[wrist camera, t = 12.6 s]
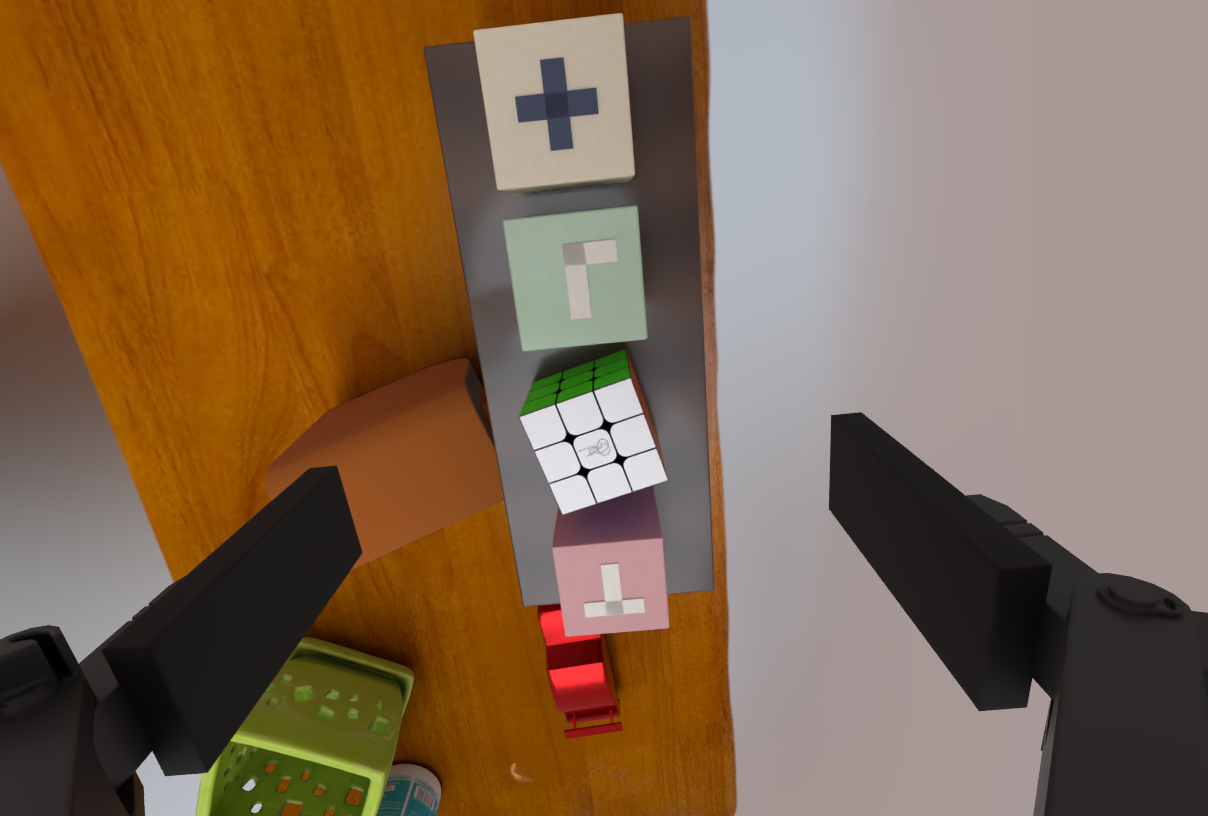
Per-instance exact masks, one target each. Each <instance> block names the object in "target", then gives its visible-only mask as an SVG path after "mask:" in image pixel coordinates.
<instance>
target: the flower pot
mask: <svg viewBox="0 0 1208 816" xmlns="http://www.w3.org/2000/svg"><path fill="white" fill-rule="evenodd" d="M413 682H414V673H413V671H412V670H411V669H410V668H408V667H406V666H404V665H401V664H398V663H395V662H392V661H389V660H386V659H382V658H379V657H376V656H372V655H369V654H366V653H363V652H360V651H357V650H353V649H350V648H347V647H344V646H340V645H337V644H333V643H330V642H327V641H323V640H320V639H316V638H311V637H303V638H302V640H301V641H300V643H299V644H298V646H297V647H296V648H295V650H294V651H293V653H292V654H291V655H290V657H289V658H288V660H287V661H286V663H285V664H284V665H283V667H282V668H281V670H280V671H279V672H278V674H277V675H276V677H275V678H274V680H273V681H272V682H271V684H270V685H269V687H268V688H267V689H266V691H265V692H264V694H263V695H262V697H261V698H260V699H259V701H258V702H257V704H256V705H255V706H254V708H253V709H252V711H251V712H250V714H249V715H248V716H247V718H246V719H245V721H244V722H243V724H242V725H241V726H240V728H239V729H238V731H237V732H236V733H235V735H234V736H233V738H232V739H231V741H230V742H229V743H228V745H227V746H226V748H225V749H224V750H223V752H222V753H221V755H220V756H219V758H218V759H217V760H216V762H215V763H214V765H213V766H212V767H211V769H210V770H209V772H208V773H202V777H201V782H200V787H199V795H198V801H197V809H196V816H281V813H282V811H283V808H284V806H285V805H286V804H287V803H295V804H301V805H302V808H301V811H300V813H299V816H325V812H326V811H327V810H329V809H331V808H334V815H333V816H376V815H377V812H378V809H379V806H380V803H381V801H382V797H383V794H384V791H385V787H386V784H387V780H388V777H389V773H390V770H391V766H392V762H393V758H394V754H395V750H396V746H397V741H398V736H399V731H400V726H401V720H402V717H403V714H404V711H405V709H406V706H407V703H408V700H409V697H410V694H411V690H412V686H413ZM251 749H252V750H251ZM239 753H240V754H239ZM238 755H239V756H238ZM271 763H276V766H277V767H276V769H275V770H274V771H273V772H271V773H266V766H267V765H269V764H271ZM305 772H310V776H309V778H308V779H307V780H305V781H302V775H303V773H305ZM251 779H254V780H256V781H257V782H258V784H257V785H256V786H255V787H254V788H253V789H252V790H250V791H246V790H244V789H243V788H242V787H243V786H244V785H245V784H246V783H247V782H248V781H249V780H251ZM282 779H288V780H290V783H289V786H288V788H287V790H286V791H285V792H278V791H277V788H278V786H279V783H280V781H281V780H282ZM319 787H321V788H323V789H325V792H324V793H323V794H322V795H321V796H316V795H314V794H313V793H314V791H315V790H316V789H317V788H319ZM352 788H354V789H357V790H360V791H362V792H363V794H362V797H361V800H360V802H359V804H358V805H356V806H355V805H351V804H348V803H346V802H345V801H346V798H347V796H348V793H349V791H350V789H352ZM257 803H258V804H262V807H261V809H260V811H259V812H257V813H252V812H251V809H252V808H253V806H254V805H255V804H257Z"/></svg>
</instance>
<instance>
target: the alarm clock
mask: <svg viewBox="0 0 1208 816" xmlns="http://www.w3.org/2000/svg"><path fill="white" fill-rule="evenodd" d="M335 465H337V467H338V471H339V474H340V477H341V481H342V484H343V488H344V491H345V494H346V498H347V501H348V504H349V508H350V511H351V515H352V518H353V521H354V525H355V528H356V532H357V535H358V538H359V542H360V545H361V549H362V552H363V553H362V555H361V556H360V558H359V559H358V560H357V562H356V563H355V565H354V566H353V567H352V569H354V568H357V567H359V566H361V565H363V564H365V563H367V562H370V561H372V560H374V559H376V558H378V557H380V556H383V555H385V554H387V553H389V552H391V551H393V550H396V549H398V548H400V547H402V546H404V545H406V544H409V543H411V542H413V541H415V540H417V539H419V538H422V537H424V536H426V535H428V534H430V533H433V532H435V531H437V530H439V529H441V528H443V527H446V526H448V525H450V524H452V523H454V522H456V521H459V520H461V519H463V518H465V517H467V516H469V515H472V514H474V513H476V512H478V511H480V510H482V509H485V508H487V507H489V506H491V505H493V504H495V503H498V502H500V501H502V500H504V496H503V491H502V485H501V480H500V474H499V468H498V463H497V457H496V452H495V446H494V440H493V435H492V429H491V424H490V418H489V412H488V407H487V401H486V396H485V390H484V385H483V386H482V385H481V383H480V381H479V379H478V377H477V375H476V372H475V370H474V368H473V366H472V364H471V363H470V361H469V360H468V359H455V360H450V361H446V362H443V363H439V364H436V365H433V366H431V367H428V368H425V369H422V370H420V371H417V372H415V373H412V374H410V375H408V376H405V377H403V378H400V379H398V380H396V381H394V382H391V383H389V384H387V385H384V386H382V387H380V388H378V389H375V390H373V391H371V392H368V393H366V394H364V395H362V396H359V397H357V398H355V399H353V400H350V401H348V402H346V403H343V404H341V405H339V406H337V407H334V408H332V409H330V410H328V411H327V412H326V413H325V414H324V415H323V416H322V417H321V418H320V419H318V420H317V421H316V422H315V423H314V424H313V425H312V426H311V427H310V428H309V429H308V430H307V431H306V432H305V433H304V434H303V435H302V436H300V437H299V438H298V439H297V440H296V441H295V442H294V443H293V444H292V445H291V446H290V447H289V448H288V449H287V450H286V451H285V452H283V453H282V454H281V455H280V456H279V457H278V458H277V459H276V460H275V461H274V462H273V463H272V464H271V465H270V466H269V468H268V469H267V472H266V485H267V490H268V493H269V495H270V498H271V500H273V499H274V498H276V497H277V496H278V495H279V494H280V493H281V492H282V491H284V490H285V489H286V488H287V487H288V486H289V485H290V484H292V483H293V482H294V481H295V480H296V479H297V478H298V477H300V476H301V475H302V474H303V473H304V472H305V471H306V470H308V469H309V468H315V467H325V466H335ZM352 569H351V570H352Z"/></svg>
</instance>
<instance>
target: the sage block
mask: <svg viewBox="0 0 1208 816" xmlns="http://www.w3.org/2000/svg"><path fill="white" fill-rule="evenodd" d="M503 229H504V236H505V242H506V249H507V255H508V262H509V268H510V275H511V282H512V288H513V295H514V301H515V308H516V315H517V321H518V328H519V334H520V341H521V347H522V351H534V350H544V349H554V348H564V347H575V346H585V345H595V344H605V343H615V342H625V341H635V340H645V339H647V337H648V335H647V322H646V309H645V296H644V282H643V269H642V256H641V243H640V230H639V217H638V207H637V206H635V205H634V206H625V207H615V208H606V209H597V210H587V211H578V212H568V213H559V214H550V215H540V216H531V217H522V218H512V219H504V220H503Z"/></svg>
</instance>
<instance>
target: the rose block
mask: <svg viewBox="0 0 1208 816" xmlns="http://www.w3.org/2000/svg"><path fill="white" fill-rule="evenodd" d="M552 552H553V559H554V565H555V572H556V579H557V585H558V592H559V598H560V605H561V611H562V618H563V625H564V631H565V636H566V637H569V636H581V635H593V634H605V633H617V632H629V631H641V630H653V629H665V628H669V627H670V625H669V612H668V598H667V585H666V572H665V559H664V546H663V536H662V530H661V525H660V520H659V514H658V509H657V503H656V498H655V492H654V487H647V488H644V489H641V490H638V491H635V492H633V491H632V493H629V494H625V495H622V496H619V497H616V498H613V499H610V500H607V501H604V502H601V503H597V504H595V505H592V506H589V507H586V508H583V509H580V510H577V511H574V512H571V513H567V514H564V515H562V514H561V511H560V509H559V507H558V510H557V517H556V524H555V530H554V537H553V544H552Z"/></svg>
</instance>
